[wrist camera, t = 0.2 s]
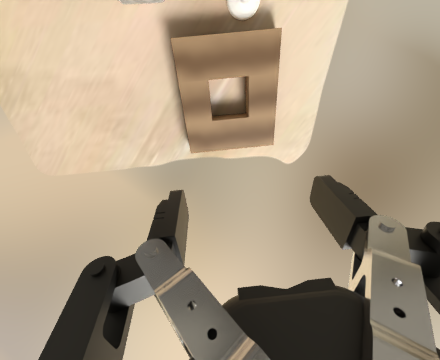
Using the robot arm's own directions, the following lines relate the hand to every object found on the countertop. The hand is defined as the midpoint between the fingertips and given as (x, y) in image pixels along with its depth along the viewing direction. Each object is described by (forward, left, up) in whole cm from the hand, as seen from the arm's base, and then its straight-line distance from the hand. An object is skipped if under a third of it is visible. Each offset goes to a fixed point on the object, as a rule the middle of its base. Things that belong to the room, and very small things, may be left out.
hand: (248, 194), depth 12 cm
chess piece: (-14, +5, -28) cm, 32 cm away
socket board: (-1, +2, -28) cm, 28 cm away
